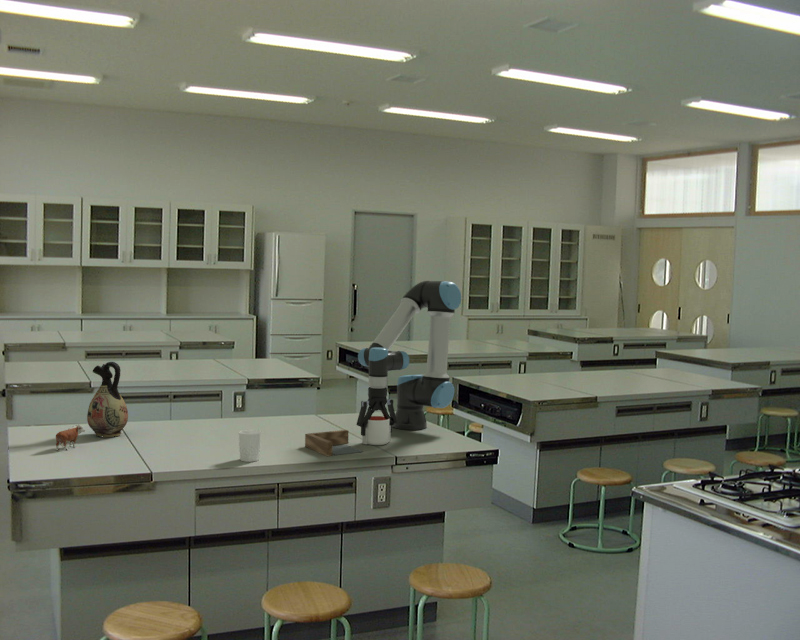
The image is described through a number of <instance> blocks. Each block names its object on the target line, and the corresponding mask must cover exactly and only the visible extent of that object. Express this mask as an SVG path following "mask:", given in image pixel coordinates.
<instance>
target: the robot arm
mask: <svg viewBox="0 0 800 640" xmlns="http://www.w3.org/2000/svg"><path fill="white" fill-rule="evenodd" d="M461 302H462V293H461V290H460V288H459V286H458V285H457V284H456V283H454V282H452V281H447V280H444V281H443V280H441V281H439V280H424V281H420V282H417V284H416V283H415V285H414V286H412V287H411V288H410V289H409V290H408V291H407V292H405V294H404V295H403V296H402V297H401V299H400V304H399V305H398V307H397V309H396V310H395V311H394V313H393V314H392V315H391V317H390V318H389V319H388V320H387V322H386V323H385V325H384V326H383V327H382V329H381V331H380V332H379V333H378V334H377V336H376V337H375V339H374V340H373V341H372V342H371V344H370V345H369V346H368V347H363V348H362V349H360V350H359V352H358V354H357V359H358V363H359V364H360V365H361V366H363V367H368V388H367V395H368V399H367V400H366V401H365V400H361V402H360V409H359V414H358V416H357V420H356V426H357V427H360V436H361V437H362V439H361V440H362V441H361V443H362V444H363V445H368V444H367V441H368V428H367V427H366V426H367V424H368V420H370V418H371V416H373V414H374V413H375V411H376V412H378V411H380V412H381V414H382V416H383V417H384V418H385V419H386V420H387V419H388V418H389V419H390V421H389V442H388V443H390V442H391V436H392V435H391V434H392V433H393V428H394V429H399V430H405V431H417V430H424V429H427V424H428V422H427V418H426V416H425V413H424V407H430V408H433V409H444V408H446V407H448V406H449V405H450V404H451V403H452V402H453V398H454V395H455V387H454V384H453V383H452V382H451V381H450V375H448V372H447V370H448V355H449V346H450V345H449V343H450V331H451V328H450V327H451V320H452V319H451V318H452V317H453V316H454V315H455V313H456V312H455V311H456V309H458V308H459V307H460V306H461V304H462V303H461ZM425 308H427V313H428V315H429V316H430V321H429V322H430V323H429V333H428V337H429V338H428V346H427V347H428V349H427V360H426V361H427V362H426V371H425V372H424V373H423V374H408V375H407V374H406V375H400V376H399V377H397V384H396V410H395V408H394V399H391V398H388V399H387V397H388V388H387V387H388V375H389V374H388V372H389V371H391V372H392V371H401V370H404V369H407V368H408V366H409V365H410V355H409V354H408V353H407V352H406V351H404V350H403V351H402V350H396V351H395V350H393V351H392V350H390V349H392V346H393V345H394V344H395V343H396V342H397V340H398V338H399V337H400V336H401V334H402V333H403V331H404V330H405V329H406V328H407V326H408V324H409V323H410V321H411V320H412V319H413V317H414V316H415V315H418V314H420V312H421V310H422V309H425ZM386 405H387V407H386Z"/></svg>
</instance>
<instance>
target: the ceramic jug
mask: <svg viewBox="0 0 800 640" xmlns="http://www.w3.org/2000/svg"><path fill="white" fill-rule="evenodd" d="M110 368H113V369H114V376H113V373H112V372H111V370H110ZM92 373H94V375H95V374H96V375H98V376H99V377H101V379H102V380H101V384H100V385H99V388H98V389H97V391H96V392H95V394H94V395H93V397H92V399H91V400H90V403H89V405H88V408H87V409H88V410H87V414H86V421H87V423H88V427H89V428H90V429H91V430H92V431H93V432H94V434H95V435H97V436H103V437H102V438H113V437H114V436H115V437H119V436H120V435H122V431H123V429H124V428H125V426H127V423H128V422H129V421H128V420H129V412H128V411H129V410H128V408H127V404H126V402H125V400H124V398H123V397H122V395H121V393H120V391H119V389H118V385H119V383H120V379H121V367H120V365H119V364H118V363H116V361H108V362H105V363H103V364H102V366H101V365H96V366H94V368H93V369H92ZM112 379H113V382H112ZM97 436H96V437H97Z"/></svg>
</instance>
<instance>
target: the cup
mask: <svg viewBox="0 0 800 640" xmlns="http://www.w3.org/2000/svg"><path fill="white" fill-rule="evenodd" d="M389 421H390V419H389V418H388V419H387V420H386V419H385V418H384V416H383V415H382V416H379V415H372V416H371V418H370V420H368V424H367V426H366V427H367V428H368V441H367V444H366V445H371V446H384V445H386V444H388V443H390V442H389Z"/></svg>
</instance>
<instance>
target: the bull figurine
mask: <svg viewBox="0 0 800 640" xmlns="http://www.w3.org/2000/svg"><path fill="white" fill-rule="evenodd" d="M85 431H86V429H85V428H84V426H83V425H81V424H77V425H73V426H72V427H70V428H68V429H65V430H61V431H58V432H57V433H56V435H55V440H56V443H55V450H56V449H59V445H61V448H62V449H64V450H65V449H69V448H68V447H67V445H68V443H69V446H70V445H73V447H76V442H77V438H78V436H79V435H80V434H81V433H82V432H83V433H85ZM73 447H72V448H73Z"/></svg>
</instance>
